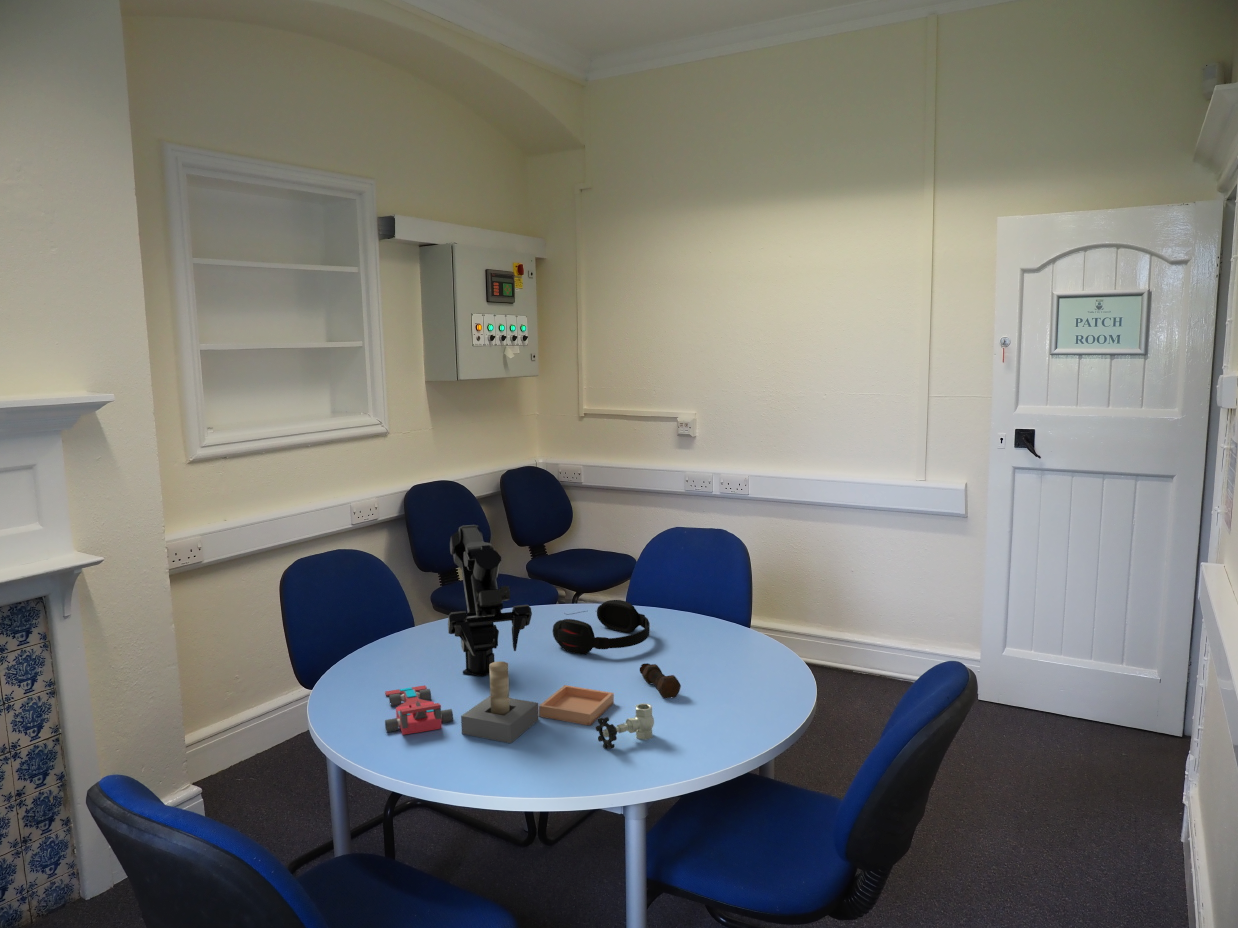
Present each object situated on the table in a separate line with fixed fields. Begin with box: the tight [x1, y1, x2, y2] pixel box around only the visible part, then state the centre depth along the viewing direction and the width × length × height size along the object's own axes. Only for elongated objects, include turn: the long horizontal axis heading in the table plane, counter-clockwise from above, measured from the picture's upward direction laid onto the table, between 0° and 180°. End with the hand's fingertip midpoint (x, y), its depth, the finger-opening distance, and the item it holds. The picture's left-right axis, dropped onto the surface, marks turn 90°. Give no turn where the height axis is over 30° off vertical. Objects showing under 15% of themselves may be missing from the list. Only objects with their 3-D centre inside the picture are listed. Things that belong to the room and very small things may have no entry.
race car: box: [384, 685, 454, 736], centre depth 190 cm, size 14×6×25 cm
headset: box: [552, 599, 650, 655], centre depth 236 cm, size 28×26×9 cm
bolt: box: [639, 662, 682, 699], centre depth 203 cm, size 6×5×15 cm
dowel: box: [489, 661, 510, 715], centre depth 181 cm, size 4×4×14 cm
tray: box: [538, 684, 615, 726], centre depth 190 cm, size 13×13×2 cm
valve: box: [595, 702, 655, 750], centre depth 174 cm, size 7×7×12 cm
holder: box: [460, 695, 539, 744], centre depth 181 cm, size 12×12×4 cm
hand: (494, 652), depth 188 cm, fingers open, 9 cm apart
